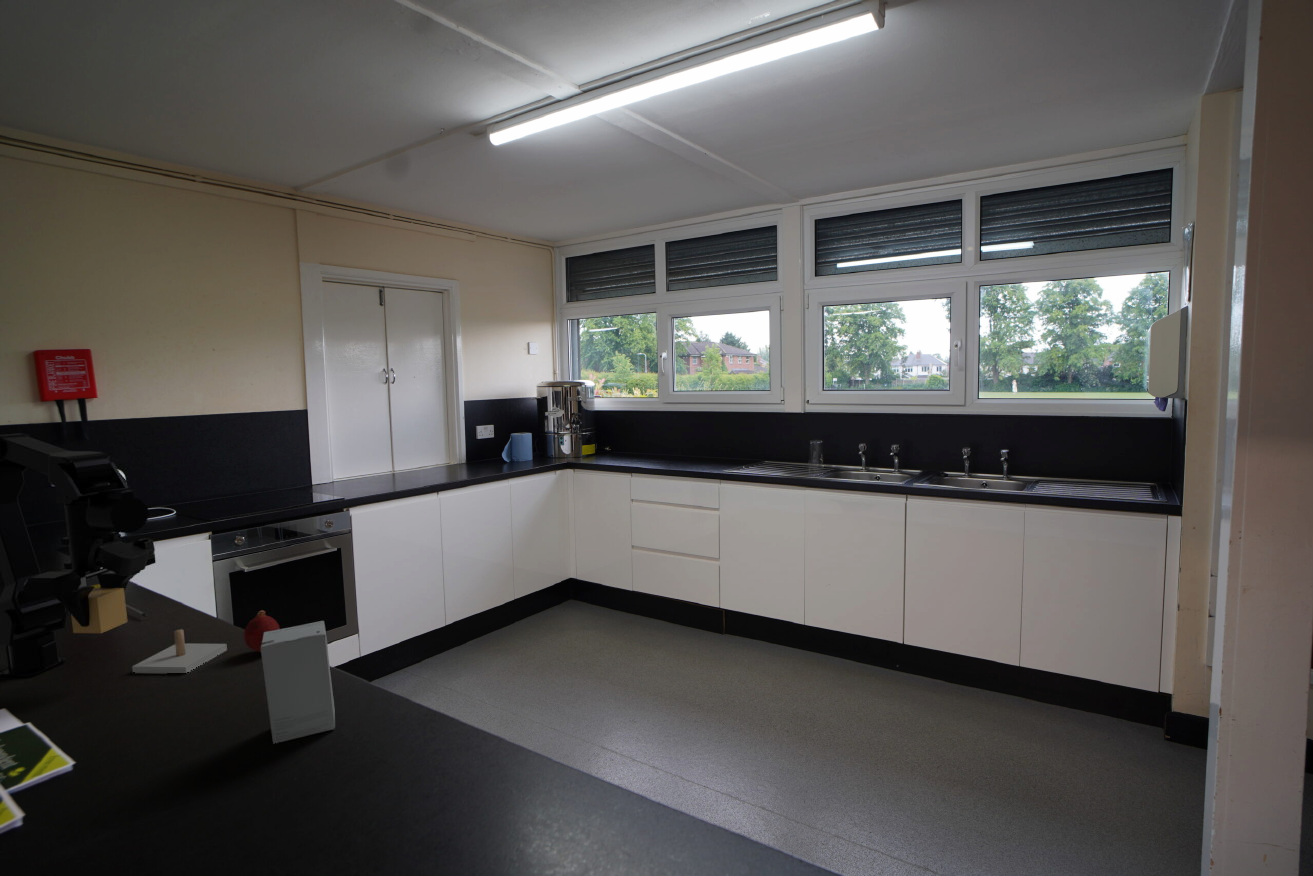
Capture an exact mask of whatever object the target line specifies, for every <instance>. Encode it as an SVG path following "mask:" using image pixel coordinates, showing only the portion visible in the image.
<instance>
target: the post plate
mask: <svg viewBox="0 0 1313 876" xmlns="http://www.w3.org/2000/svg"><path fill="white" fill-rule="evenodd" d="M173 634H174V644H173V645H171V646H169V647H167V648H165V649H164V650H161V651H159V652H157V653H156V654H153V655H152V656H150V657H147V658H146V659H144V660H142V661H140V662H138V663H136V664H134V665H132V666H131V668H132V673H133V672H135V673H134V674H167V673H187V672H189V673H190V672H192V671H194V670H195V669H197V668H199V667H201V666H203V665H204V664H206V663H207V662H209V661H211V660H213V659H214V658H216V657H218V656H220V655H221V654H223V653H225V652H226V651H228V648H227V647H228V646H227V643H185V631H184V629H177V630H174V631H173ZM217 655H218V656H217ZM205 662H206V663H205ZM203 663H204V664H203ZM200 665H201V666H200ZM198 666H199V667H198ZM196 667H197V668H196ZM193 669H194V670H193ZM191 670H192V671H191ZM187 674H188V673H187Z"/></svg>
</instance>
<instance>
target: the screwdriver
mask: <svg viewBox="0 0 1313 876" xmlns="http://www.w3.org/2000/svg"><path fill="white" fill-rule="evenodd" d="M92 586H94V588H93V589H95V588H101V586H100V583H99V584H93V585H92ZM126 609H128V610H130V611H132V612H134V613H137V614H139V615H141V616H142V617H144V618H145V617H148V614H147V613H144V612H143V611H140V610H138V609H137V608H134V607H132V606H130V605H128V604H126Z"/></svg>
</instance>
